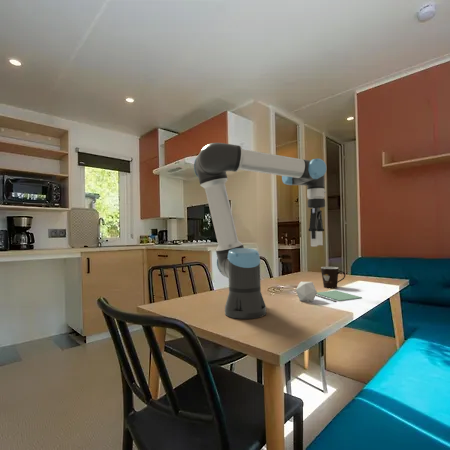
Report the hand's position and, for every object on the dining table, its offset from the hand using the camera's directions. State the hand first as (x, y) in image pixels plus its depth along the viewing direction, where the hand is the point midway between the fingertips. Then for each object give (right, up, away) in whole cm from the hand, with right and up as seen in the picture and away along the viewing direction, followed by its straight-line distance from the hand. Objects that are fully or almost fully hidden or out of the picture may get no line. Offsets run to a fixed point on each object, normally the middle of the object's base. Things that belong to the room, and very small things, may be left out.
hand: (317, 245), depth 128 cm
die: (-7, -23, -8) cm, 25 cm away
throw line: (+1, -22, -4) cm, 23 cm away
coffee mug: (+13, -23, +17) cm, 31 cm away
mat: (+9, -22, -1) cm, 24 cm away
